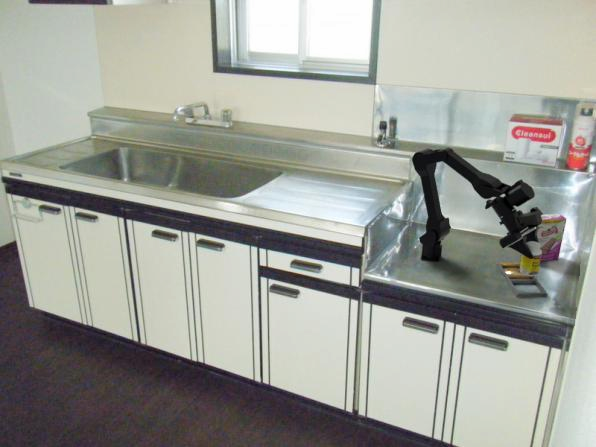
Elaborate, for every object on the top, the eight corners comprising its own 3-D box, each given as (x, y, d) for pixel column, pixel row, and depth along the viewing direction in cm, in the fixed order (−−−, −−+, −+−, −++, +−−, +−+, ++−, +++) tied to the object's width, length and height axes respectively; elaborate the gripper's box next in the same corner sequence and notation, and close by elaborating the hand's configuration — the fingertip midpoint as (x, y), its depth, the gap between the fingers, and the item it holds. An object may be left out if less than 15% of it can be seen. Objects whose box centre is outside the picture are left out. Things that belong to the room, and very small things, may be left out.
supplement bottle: (530, 278, 180) (535, 249, 176) (515, 271, 184) (520, 242, 180) (541, 274, 183) (547, 244, 179) (526, 267, 187) (531, 238, 183)
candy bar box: (530, 263, 203) (537, 220, 197) (522, 257, 208) (529, 215, 201) (559, 260, 205) (567, 218, 198) (551, 254, 209) (558, 212, 203)
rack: (547, 297, 181) (547, 294, 181) (516, 297, 182) (516, 293, 181) (523, 265, 202) (524, 262, 201) (496, 265, 202) (496, 262, 201)
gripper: (514, 209, 171) (545, 254, 168) (540, 193, 183) (569, 235, 181) (486, 226, 179) (515, 269, 176) (512, 210, 191) (540, 250, 189)
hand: (536, 255), depth 180 cm, fingers closed on supplement bottle, 5 cm apart
